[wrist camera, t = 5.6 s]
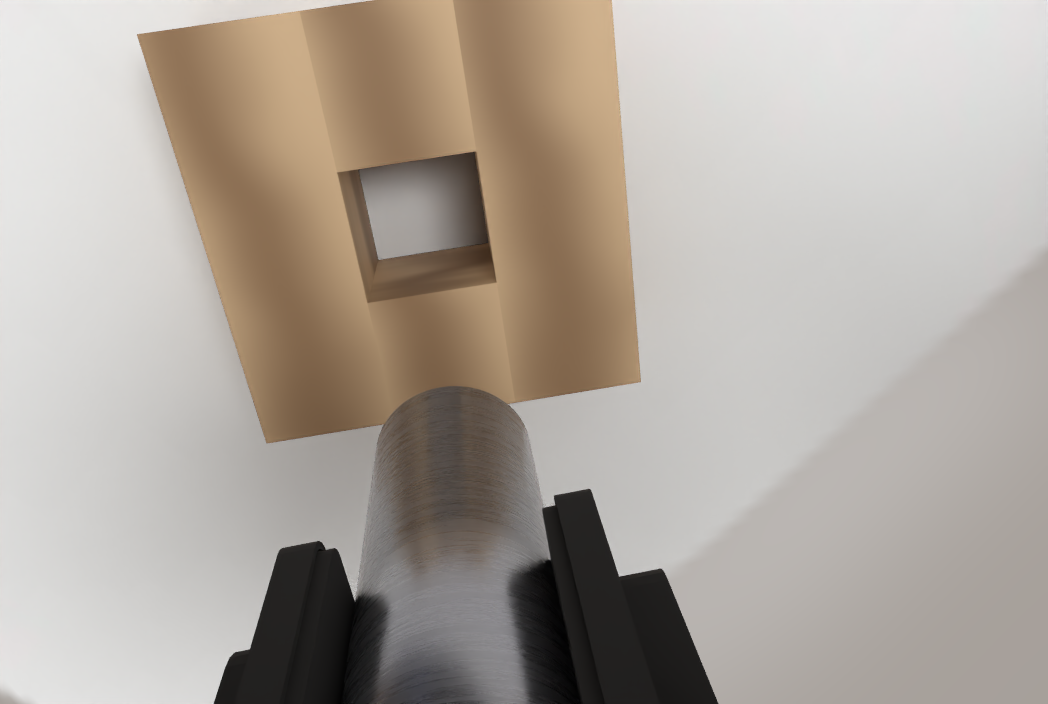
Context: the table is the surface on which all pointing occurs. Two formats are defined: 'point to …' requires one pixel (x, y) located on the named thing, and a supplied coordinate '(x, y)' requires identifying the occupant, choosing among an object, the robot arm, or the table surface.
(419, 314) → the hole block
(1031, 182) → the table surface
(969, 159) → the table surface
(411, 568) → the peg
